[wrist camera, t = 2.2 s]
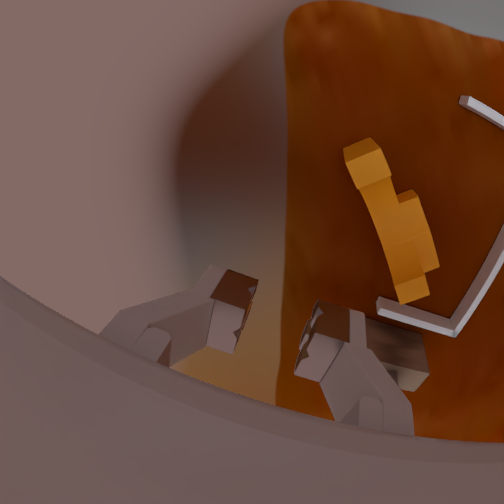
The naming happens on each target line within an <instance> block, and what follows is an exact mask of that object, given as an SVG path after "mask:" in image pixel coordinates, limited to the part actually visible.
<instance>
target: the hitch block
mask: <svg viewBox="0 0 504 504" xmlns="http://www.w3.org/2000/svg"><path fill="white" fill-rule="evenodd" d="M365 326H366V343H367V349H371V350H372V352H373V353H374V354H375V356H376V357H377V358H378V360H379V361H380V362H381V364H382V365H383V366H384V368H385V369H386V370H387V372H388V373H389V375H390V376H391V377H392V379H393V380H394V381H395V383H396V384H397V385H398V387H399V388H400V389H403V390H408V391H413V392H414V391H415V390H416V389H417V388H418V387H419V386H420V385H421V383H422V382H423V381H424V380H425V379H426V378H427V376H428V375H429V374H430V372H429V367H428V362H427V358H426V353H425V349H424V344H423V340H422V336H421V334H419V333H415V332H412V331H408V330H405V329H402V328H398V327H395V326H392V325H388V324H385V323H382V322H379V321H375V320H372V319H369V318H365Z"/></svg>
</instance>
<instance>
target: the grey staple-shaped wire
mask: <svg viewBox="0 0 504 504" xmlns="http://www.w3.org/2000/svg"><path fill="white" fill-rule="evenodd" d="M459 104H460V105H462V106H463V107H465V108H467V109H469V110H471V111H473V112H474V113H476V114H478V115H480V116H482V117H483V118H485V119H487V120H488V121H490V122H492V123H493V124H495V125H497V126H498V127H500V128H501V129H503V130H504V116H502V115H501V114H499V113H498V112H496V111H494V110H493V109H491V108H489V107H488V106H486V105H484V104H483V103H481V102H479V101H478V100H476V99H474V98H472V97H470V96H461V97H460V100H459ZM503 262H504V224H503V226H502V228H501V230H500V232H499V234H498V236H497V238H496V240H495V242H494V244H493V246H492V248H491V250H490V252H489V254H488V256H487V258H486V260H485V262H484V263H483V265H482V267H481V269H480V271H479V272H478V274H477V276H476V278H475V279H474V281H473V283H472V284H471V286H470V288H469V289H468V291H467V293H466V294H465V296H464V298H463V299H462V301H461V302H460V304H459V306H458V307H457V309H456V310H455V312H454V313H453V315H452V316H451V318H450V319H448V318H445V317H442V316H439V315H436V314H433V313H430V312H427V311H423V310H420V309H417V308H414V307H411V306H408V305H405V304H402V305H400V303H399V302H396V301H393V300H390V299H386V298H383V297H380V296H379V297H378V299H377V301H376V307H377V314H378V315H381V316H385V317H388V318H391V319H394V320H398V321H401V322H404V323H408V324H411V325H414V326H417V327H421V328H424V329H427V330H431V331H434V332H437V333H441V334H444V335H448V336H451V337H454V338H456V336H457V335H458V334H459V332H460V331H461V329H462V328H463V327H464V325H465V324H466V322H467V321H468V319H469V318H470V316H471V315H472V313H473V312H474V310H475V309H476V307H477V306H478V304H479V303H480V301H481V300H482V298H483V296H484V295H485V293H486V292H487V290H488V288H489V287H490V285H491V283H492V282H493V280H494V278H495V277H496V275H497V273H498V271H499V269H500V268H501V266H502V264H503Z"/></svg>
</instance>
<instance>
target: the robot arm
mask: <svg viewBox="0 0 504 504" xmlns="http://www.w3.org/2000/svg"><path fill="white" fill-rule="evenodd" d="M257 285H258V279H255V278H252V277H249V276H247V275H244V274H241V273H238V272H235V271H233V270H230V269H227V268H224V267H221V266H218V265H215V264H211V265H210V266H209V267H208V269H207V270H206V272H205V273H204V274H203V276H202V277H201V279H200V280H199V282H198V283H197V285H196V286H195V287H194V289H193V290H192V291H189V290H185V291H182V292H178V293H175V294H172V295H169V296H165V297H162V298H159V299H156V300H152V301H150V302H146V303H143V304H140V305H136V306H133V307H129V308H126V309H123V310H120V311H119V312H118V313H117V314H116V315H115V317H114V318H113V319H112V320H111V321H110V322H109V323H108V325H107V326H106V327H105V328H104V329H103V330H102V331H101V332H100V333H99V335H98V334H96V333H94V332H92V331H90V330H88V329H86V328H85V327H83V326H81V325H79V324H77V323H75V322H74V321H72V320H70V319H68V318H66V317H65V316H63V315H61V314H59V313H58V312H56V311H54V310H53V309H51V308H49V307H47V306H46V305H44V304H42V303H41V302H39V301H38V300H36V299H34V298H33V297H31V296H30V295H28V294H26V293H25V292H23V291H22V290H20V289H18V288H17V287H16V286H14V285H12V284H11V283H10V282H8V281H6V280H5V279H4V278H2V277H1V276H0V504H504V443H488V442H468V441H455V440H444V439H434V438H426V437H417V436H414V426H413V414H412V405H411V403H410V402H409V401H408V399H407V398H406V397H405V395H404V394H403V392H402V391H401V390H400V388H399V387H398V385H397V384H396V383H395V381H394V380H393V379H392V377H391V376H390V375H389V373H388V372H387V370H386V369H385V368H384V366H383V365H382V364H381V362H380V361H379V360H378V358H377V357H376V356H375V354H374V353H373V352H372V350H371V349H367V343H366V326H365V314H364V313H363V312H359V311H356V310H352V309H347V308H344V307H341V306H337V305H334V304H331V303H327V302H324V301H321V300H317V302H316V304H315V306H314V308H313V312H312V318H311V319H310V320H308V322H307V324H306V326H305V329H304V332H303V334H302V337H301V341H300V346H299V349H300V353H299V355H298V357H297V361H296V366H295V371H294V374H295V375H298V376H301V377H304V378H307V379H310V380H314V381H317V382H320V386H321V388H322V391H323V393H324V395H325V397H326V400H327V402H328V404H329V407H330V409H331V411H332V414H333V416H334V418H335V421H336V422H335V421H331V420H327V419H322V418H318V417H315V416H311V415H307V414H303V413H299V412H296V411H292V410H288V409H285V408H281V407H278V406H275V405H271V404H268V403H264V402H262V401H258V400H255V399H252V398H248V397H246V396H243V395H240V394H237V393H234V392H231V391H228V390H225V389H222V388H220V387H217V386H214V385H211V384H209V383H206V382H204V381H201V380H198V379H196V378H193V377H190V376H188V375H186V374H183V373H181V372H178V371H176V370H173V369H171V368H169V367H170V366H172V365H174V364H175V363H177V362H179V361H181V360H183V359H185V358H186V357H188V356H190V355H191V354H193V353H195V352H197V351H199V350H200V349H202V348H204V347H205V345H206V346H209V347H212V348H215V349H218V350H222V351H225V352H228V353H230V354H233V351H234V349H235V347H236V345H237V342H238V340H239V337H240V334H241V331H242V330H243V328H244V325H245V323H246V320H247V317H248V315H249V312H250V309H251V305H252V299H253V297H254V294H255V291H256V288H257Z"/></svg>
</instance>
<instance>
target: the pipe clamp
mask: <svg viewBox="0 0 504 504" xmlns="http://www.w3.org/2000/svg"><path fill="white" fill-rule="evenodd" d="M343 153H344V159H345V164H346V166H347V168H348V170H349V172H350V175H351V177H352V179H353V181H354V184H355V186H356V188H357V189H359V191H360V192H361V194H362V196H363V199H364V201H365V203H366V205H367V207H368V210H369V212H370V215H371V217H372V220H373V222H374V225H375V227H376V230H377V233H378V235H379V238H380V241H381V244H382V247H383V249H384V252H385V256H386V259H387V262H388V265H389V268H390V272H391V275H392V279H393V283H394V287H395V290H396V293H397V296H398V299H399V302H400V305H402V304H405V303H408V302H411V301H414V300H417V299H419V298H422V297H425V296H428V295H430V292H429V288H428V284H427V281H426V277H425V274H424V273H425V272H428V271H430V270H433V269H435V268H438V267H440V265H439V261H438V257H437V253H436V250H435V246H434V242H433V238H432V235H431V231H430V229H429V226H428V223H427V220H426V218H425V215H424V212H423V209H422V206H421V203H420V200H419V197H418V195H417V194H416V193H415V191H414V190H413V189H410V190H408V191H405V192H403V193H400V194H398V195H396V193H395V190H394V187H393V184H392V181H391V177H390V176H391V175H392V174H391V171H390V169H389V166H388V164H387V162H386V159H385V157H384V154H383V152H382V150H381V148H380V147H379V146H378V145H377V143H376V142H375V141H374V140H373V139H372V138H371V137H369V138H366V139H364V140H361V141H359V142H357V143H354V144H352V145H350V146H347V147H345V148H343Z"/></svg>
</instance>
